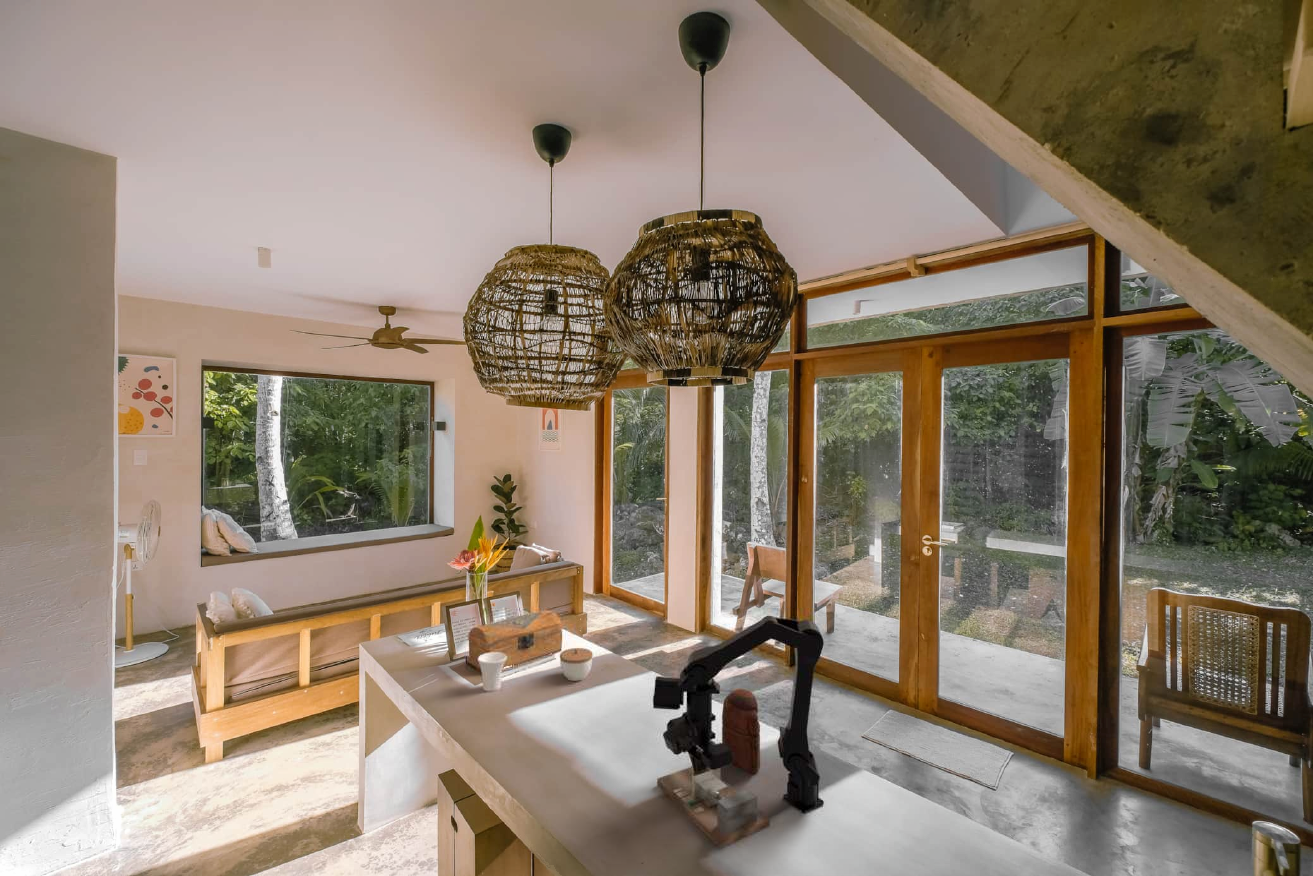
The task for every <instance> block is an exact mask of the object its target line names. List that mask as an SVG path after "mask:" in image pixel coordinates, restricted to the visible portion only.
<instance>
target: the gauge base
mask: <svg viewBox="0 0 1313 876" xmlns="http://www.w3.org/2000/svg"><path fill="white" fill-rule="evenodd" d="M707 768H708V767H707ZM707 768H706V769H707ZM693 773H694V770H693V766H690V767H687V768H684V769H681V770H678V771H675V772H673V773H672V772H671V773H669V774H666V775H665V776H661V777H658V778H657V779H656V781H657V782H656V784H657V786H658V787H659V788H660V789H661V790H662V791H663V792H664V794H665V795H666V796H667V797H668V798H669V799H670V800H671V801H673V802H674V804H675V805H676V806H677V807H678V808H679V809H680V810H681V811H682V812H683V813H684V814H685V815H686V816H687V817H688V818H689V819H690V820H691V821H692V822H693V823H694V825H696V827H698V828H699V830H701V831H702V832H703V833H704V834H705V836H707V838H708V839H709V840H710V841H712V843H713V844H714V845H715V846H716V847H717V848H718V849H722V848H724V847H726V846H729V845H730V844H733V843H736V842H737V841H740V840H742V839H745V838H746V837H748V836H751V835H753V834H755V833H758V832H761V831H762V830H764V829H767V828H769V827H771V826H770V824H771V823H770V821H771V819H770V818H769V817H768V816H767V815H766V814H765V813H763V812H762V811H761V810H760V809H759V808H758V796H757V795H756V794H755V793H754V792H752V791H751V790H750V789H749V788H747V789H745V790H742V791H740V792H739V791H737V790H736V789H735V788H734V787H733V786H731V785H730V784H729V783H728V782H727V781H725V779H724V778H722V777H721V776H720V780H721V781H722V782H723V783H724V784H726V785H727V786H728V797H726V798H724V799H721V800H719V801H718V804H716V805H714V806H711V807H708V806H707V805H706V804H705V803H704V802H700V803H698V804H695V805H693V806H691V805H690V803H692V802H695V801H697V800H700V798H695V799H694V798H693V797H692V774H693Z"/></svg>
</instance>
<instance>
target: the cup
mask: <svg viewBox="0 0 1313 876" xmlns="http://www.w3.org/2000/svg"><path fill="white" fill-rule="evenodd" d="M506 660H507V657H506V655H505V654H504V653H501V652H490V653H485V654H482V655H480V656H479V657H478V662H479V664H480V667H481V669H480V671H481V675H482V676H481V677H482V690H483V691H485V692H496V691H498V690H499V689H500V688H501V687H502V685H501V684H502V672H503V670H502V669H503V665H504V662H505V661H506Z"/></svg>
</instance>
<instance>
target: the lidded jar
mask: <svg viewBox="0 0 1313 876" xmlns="http://www.w3.org/2000/svg"><path fill="white" fill-rule="evenodd" d="M559 661H560V662H559V663H560V664H559V665H560V670H561V672H562V674H563V675H564V676H565V677H566V679H567V680H569V681H572V682H579V681H582V680H585V678H586V677H587V676H588V674H589V673H591V669H592V664H593V652H592V651H591V650H590V649H587V648H583V647H573V648H568V649H565V650H562V651H560V654H559Z"/></svg>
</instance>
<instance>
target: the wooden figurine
mask: <svg viewBox="0 0 1313 876" xmlns="http://www.w3.org/2000/svg"><path fill="white" fill-rule="evenodd" d="M722 705H723V706H722V713H721V715H722V716H721V725H722V726H721V743H722V744H724V745H725V746H726V747H728V748H729V749H730V750H731V751H732V752H734V762H733V763H732V764H731V765H734V766H736V767H738V768H740V769H742V770H743V771H745V772H747V773H749V774H754V775H755V774H757V773H759V770H760V769H761V735H760V732H761V724H760V722H759V717H758V713H759V708H758V702H757V697H756V695H755V694H754V693H753V692H751V691H750V690H747V689H744V688H737V689H735V690H733V691H731V692H730V693H728V695H727V696H725V698H724V700H723V703H722Z"/></svg>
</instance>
